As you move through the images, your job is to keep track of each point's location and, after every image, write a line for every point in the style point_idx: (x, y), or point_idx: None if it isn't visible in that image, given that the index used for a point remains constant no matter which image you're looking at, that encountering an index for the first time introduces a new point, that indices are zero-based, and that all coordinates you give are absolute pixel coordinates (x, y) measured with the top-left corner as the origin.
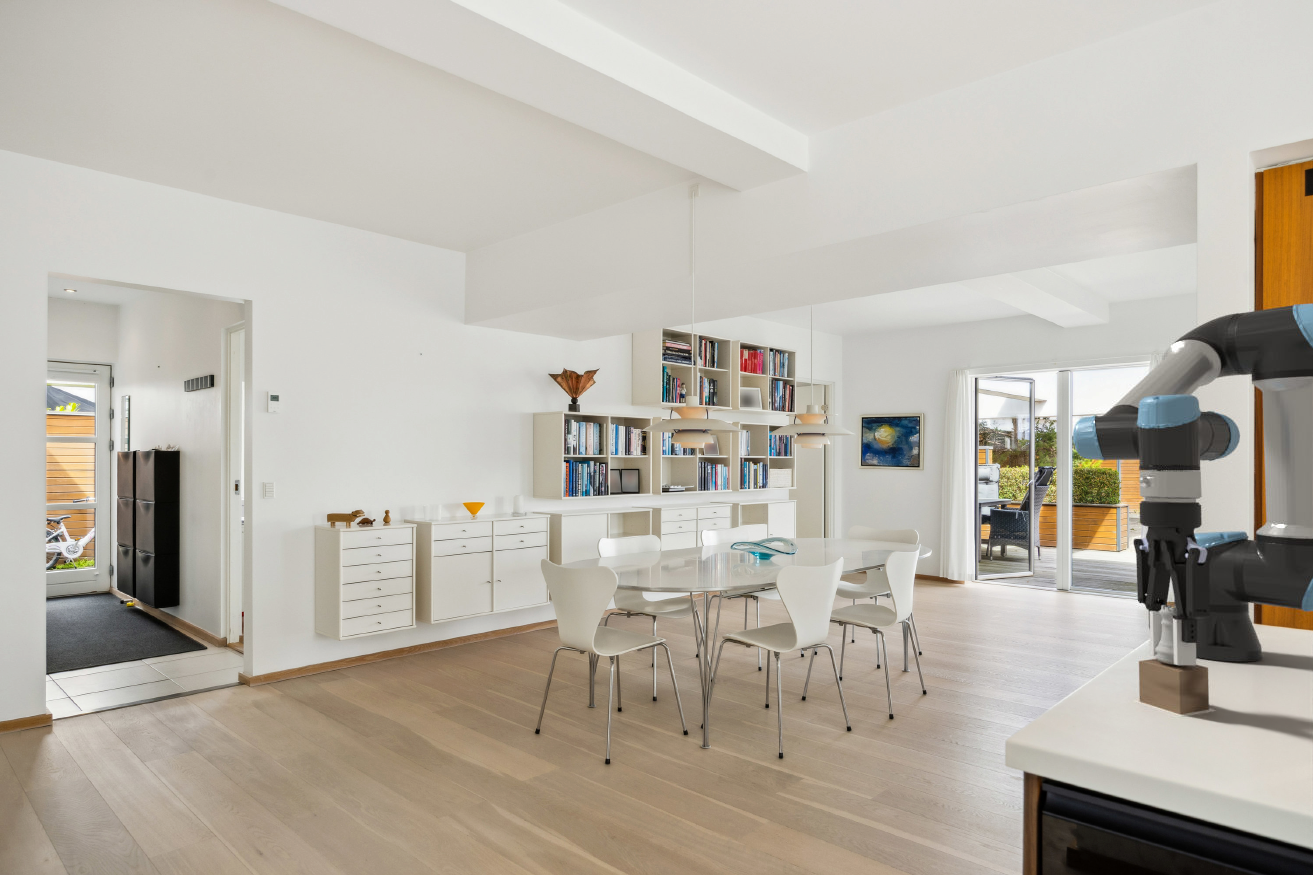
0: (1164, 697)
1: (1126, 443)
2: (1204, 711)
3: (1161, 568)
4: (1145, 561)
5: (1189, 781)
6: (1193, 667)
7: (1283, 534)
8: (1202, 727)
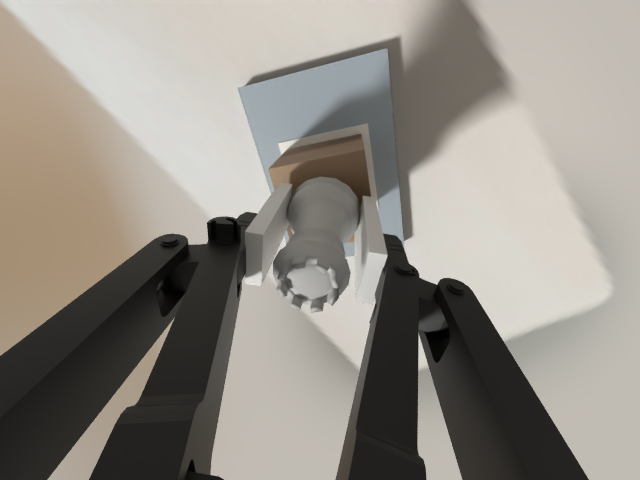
0: None
1: None
2: (367, 151)
3: (209, 443)
4: (47, 452)
5: (510, 326)
6: (356, 183)
7: None
8: None
